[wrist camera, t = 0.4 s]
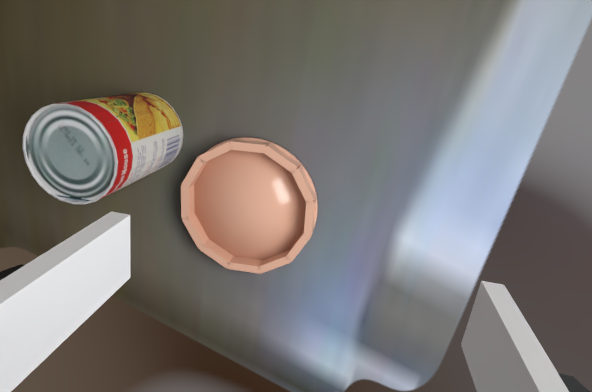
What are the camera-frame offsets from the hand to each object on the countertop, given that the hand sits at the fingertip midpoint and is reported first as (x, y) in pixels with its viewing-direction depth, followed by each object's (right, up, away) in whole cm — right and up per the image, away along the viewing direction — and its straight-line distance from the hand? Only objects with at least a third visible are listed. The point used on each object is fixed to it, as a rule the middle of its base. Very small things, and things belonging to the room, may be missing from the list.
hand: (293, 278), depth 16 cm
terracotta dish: (-5, +2, +28) cm, 29 cm away
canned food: (-15, +10, +28) cm, 33 cm away
